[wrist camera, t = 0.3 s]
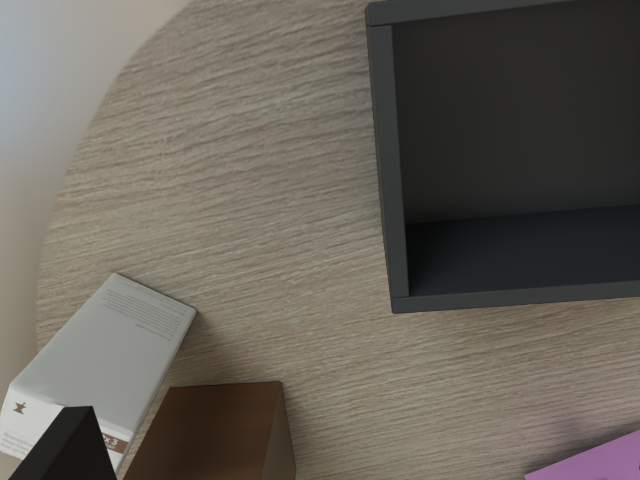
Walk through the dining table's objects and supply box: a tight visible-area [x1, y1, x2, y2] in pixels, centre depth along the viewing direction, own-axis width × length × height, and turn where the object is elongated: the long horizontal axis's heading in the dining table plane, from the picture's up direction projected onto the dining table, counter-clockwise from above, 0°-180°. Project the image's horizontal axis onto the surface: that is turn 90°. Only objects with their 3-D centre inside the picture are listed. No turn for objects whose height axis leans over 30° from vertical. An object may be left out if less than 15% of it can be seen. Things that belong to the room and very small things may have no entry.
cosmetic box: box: [0, 273, 196, 476], centre depth 30 cm, size 6×4×12 cm
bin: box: [365, 0, 640, 314], centre depth 25 cm, size 16×13×10 cm
